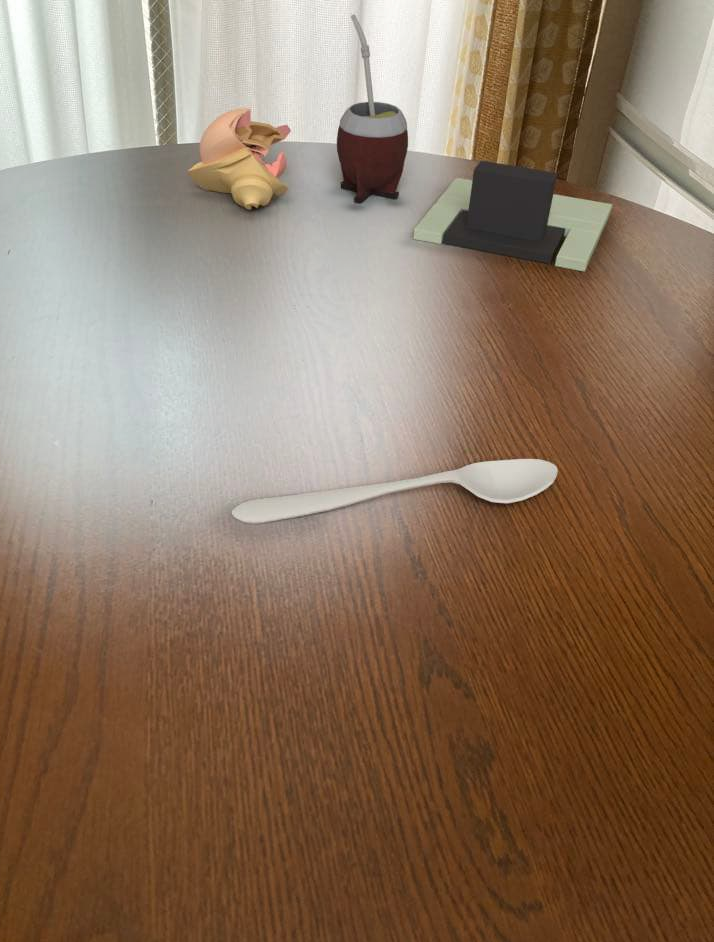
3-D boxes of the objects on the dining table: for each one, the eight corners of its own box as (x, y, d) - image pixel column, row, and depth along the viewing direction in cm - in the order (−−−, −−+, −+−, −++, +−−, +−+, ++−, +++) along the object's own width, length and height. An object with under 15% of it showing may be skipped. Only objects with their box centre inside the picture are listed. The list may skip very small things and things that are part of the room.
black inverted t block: (567, 230, 88) (582, 161, 84) (550, 264, 83) (565, 192, 78) (466, 212, 91) (475, 144, 87) (443, 243, 85) (451, 173, 81)
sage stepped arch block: (610, 213, 91) (612, 203, 91) (584, 272, 82) (587, 261, 81) (454, 186, 96) (456, 177, 95) (412, 239, 86) (414, 228, 85)
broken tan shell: (304, 219, 90) (245, 164, 83) (224, 249, 96) (162, 200, 88) (307, 139, 93) (249, 79, 85) (229, 173, 98) (168, 120, 90)
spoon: (565, 506, 57) (570, 485, 56) (235, 538, 55) (234, 517, 54) (541, 466, 60) (546, 445, 59) (228, 494, 58) (227, 473, 57)
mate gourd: (388, 211, 91) (401, 43, 81) (315, 196, 93) (319, 31, 83) (414, 185, 96) (430, 24, 86) (345, 171, 98) (352, 13, 88)
